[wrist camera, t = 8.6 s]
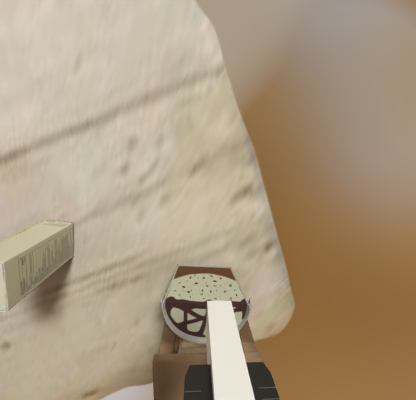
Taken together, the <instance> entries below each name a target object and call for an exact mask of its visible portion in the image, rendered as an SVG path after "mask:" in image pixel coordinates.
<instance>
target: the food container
mask: <svg viewBox="0 0 416 400" xmlns="http://www.w3.org/2000/svg"><path fill="white" fill-rule="evenodd" d="M207 301H231V303H232V307H233V311H234V315H235V319H236V323H237V327H238V331H239V330H240V329H241V328H242V326H243V325H244V324H245V322H246V321H247V319H248V316H249V313H250V309H251V298H249V302H248V301H247V299H246V297H245V295H244V293H243V291H242V289H241V286H240V284H239V282H238V280H237V278H236V276H235V274H234V272H233V270H232V268H231V267H222V266H200V265H177V268H176V270H175V273H174V275H173V278H172V280H171V283H170V285H169V288H168V290H167V293H166V295H165V298H164V300H163V301H162V295H161V309H162V313H163V316H164V319H165V321H166V323H167V325H168V326H169V328H170V329H171V330H172V331H173V332H174V333H175V334H177V335H178V336H179V337H181V338H183V339H185V340H188V341H190V342H194V343H201V344H206V323H207Z"/></svg>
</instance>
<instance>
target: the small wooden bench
mask: <svg viewBox="0 0 416 400" xmlns="http://www.w3.org/2000/svg"><path fill="white" fill-rule="evenodd" d="M239 336H240V340H241V344H242V348H243V352H244V356H245V360H246V362H263V363H264V359H263V356H262V353H261V352H257V350H256V347H255V343H254V340H253V336H252V333H251V330H250V327H249V323H248V320H247V321H246V322H245V324H244V325H243V326H242V328H241V329H240V330H239ZM179 340H180V337H179V336H178V335H177V334H175V333H174V332H173V331H172V330H171V329H170V328H169V326H168V325H167V323H166V321H165V326H164V331H163V336H162V341H161V346H160V351H159V354H155V355H154V359H153V386H154V400H183V399H184V381H185V375H186V373H187V370H188V368H189V366H190V365H206V364H207V353H201V354H178V350H179ZM184 347H206V344H201V343H194V342H190V341H188V340H185V339H183V338H182V340H181V348H184Z"/></svg>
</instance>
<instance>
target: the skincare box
mask: <svg viewBox="0 0 416 400" xmlns="http://www.w3.org/2000/svg"><path fill="white" fill-rule="evenodd" d="M73 253H74V236H73V223H68V222H61V221H52V220H46V221H44V222H41V223H39V224H37V225H35V226H32V227H30V228H28V229H26V230H24V231H21V232H19V233H17V234H15V235H12V236H10V237H8V238H6V239H3V240H1V241H0V311H3V312H7V311H8V310H10V309H11V308H12V307H13V306H14V305H16V304H17V303H18V302H19V301H20V300H22V299H23V298H24V297H25V296H26V295H28V294H29V293H30V292H31V291H32V290H34V289H35V288H36V287H37V286H38V285H40V284H41V283H42V282H43V281H44V280H46V279H47V278H48V277H49V276H50V275H51V274H53V273H54V272H55V271H56V270H58V269H59V268H60V267H61V266H62V265H63V264H65V263H66V262H67V261H68V260H69V259H71V258H72V257H73Z"/></svg>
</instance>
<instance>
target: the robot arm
mask: <svg viewBox="0 0 416 400" xmlns="http://www.w3.org/2000/svg"><path fill="white" fill-rule="evenodd" d="M206 347H207V364H206V365H190V366H189V368H188V370H187V373H186V375H185V381H184V399H183V400H279V396H278V393H277V390H276V388H275V384H274V381H273V378H272V375H271V373H270V371H269V370H268V369H267V367H266V366H265V364H264V363H263V362H246V360H245V356H244V352H243V348H242V344H241V340H240V336H239V331H238V327H237V323H236V319H235V315H234V311H233V307H232V303H231V301H207V323H206Z"/></svg>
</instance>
